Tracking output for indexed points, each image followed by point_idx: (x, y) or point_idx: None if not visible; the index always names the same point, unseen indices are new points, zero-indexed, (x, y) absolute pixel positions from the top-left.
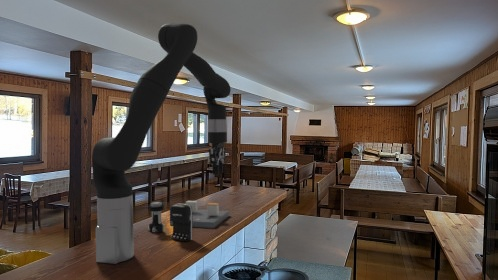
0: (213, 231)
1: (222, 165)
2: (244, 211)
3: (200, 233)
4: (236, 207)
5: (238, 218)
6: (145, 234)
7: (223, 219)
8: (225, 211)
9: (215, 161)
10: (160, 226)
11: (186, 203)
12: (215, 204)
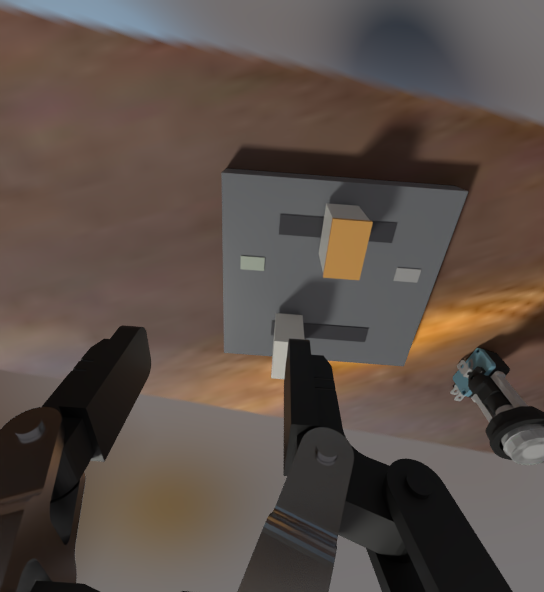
0: (510, 171)
1: (99, 388)
2: (104, 96)
3: (529, 219)
4: (37, 170)
5: (268, 97)
6: None
7: (314, 175)
8: (238, 188)
9: (456, 512)
10: (503, 365)
11: None
12: (365, 231)
